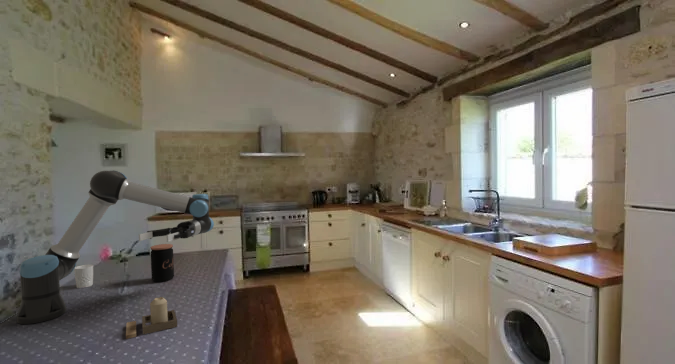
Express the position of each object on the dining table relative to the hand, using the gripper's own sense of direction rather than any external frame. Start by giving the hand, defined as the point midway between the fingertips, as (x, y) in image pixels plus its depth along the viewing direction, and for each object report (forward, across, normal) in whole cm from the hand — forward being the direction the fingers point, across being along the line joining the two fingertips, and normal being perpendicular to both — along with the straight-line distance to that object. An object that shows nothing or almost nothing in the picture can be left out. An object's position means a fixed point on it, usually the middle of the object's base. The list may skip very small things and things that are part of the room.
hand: (153, 238), depth 140 cm
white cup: (-20, +62, -30) cm, 71 cm away
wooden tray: (+11, -11, -30) cm, 34 cm away
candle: (+11, -11, -30) cm, 34 cm away
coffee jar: (-36, +28, -30) cm, 55 cm away
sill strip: (+17, -5, -30) cm, 35 cm away
